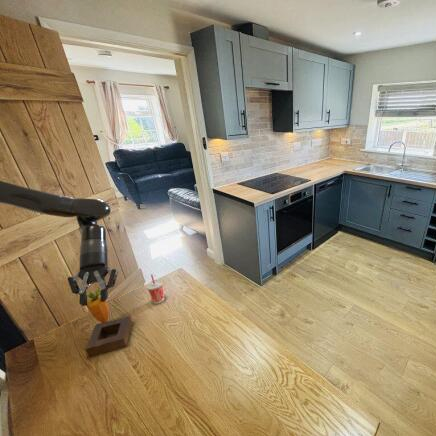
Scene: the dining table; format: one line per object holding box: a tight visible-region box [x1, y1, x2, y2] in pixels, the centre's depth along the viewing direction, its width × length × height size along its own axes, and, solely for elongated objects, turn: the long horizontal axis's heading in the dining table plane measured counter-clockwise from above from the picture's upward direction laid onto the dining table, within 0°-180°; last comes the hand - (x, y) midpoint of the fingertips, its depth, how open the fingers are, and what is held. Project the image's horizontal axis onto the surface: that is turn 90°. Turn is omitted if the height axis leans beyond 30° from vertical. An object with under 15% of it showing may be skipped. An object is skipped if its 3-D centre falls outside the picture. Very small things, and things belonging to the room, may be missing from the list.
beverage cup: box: [145, 274, 165, 305], centre depth 103 cm, size 6×6×14 cm
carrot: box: [86, 287, 110, 324], centre depth 82 cm, size 5×5×15 cm
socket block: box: [85, 315, 133, 358], centre depth 87 cm, size 11×11×4 cm
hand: (94, 303), depth 79 cm, fingers closed on carrot, 4 cm apart
